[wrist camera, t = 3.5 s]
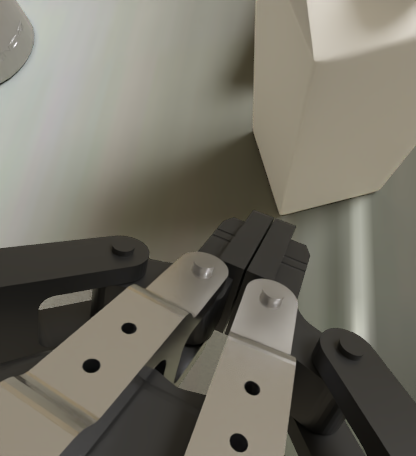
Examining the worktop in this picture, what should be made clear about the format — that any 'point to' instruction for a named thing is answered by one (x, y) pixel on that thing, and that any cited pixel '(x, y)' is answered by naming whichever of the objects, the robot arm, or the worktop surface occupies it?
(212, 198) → the worktop surface
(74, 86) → the worktop surface
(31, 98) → the worktop surface
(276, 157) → the milk carton
